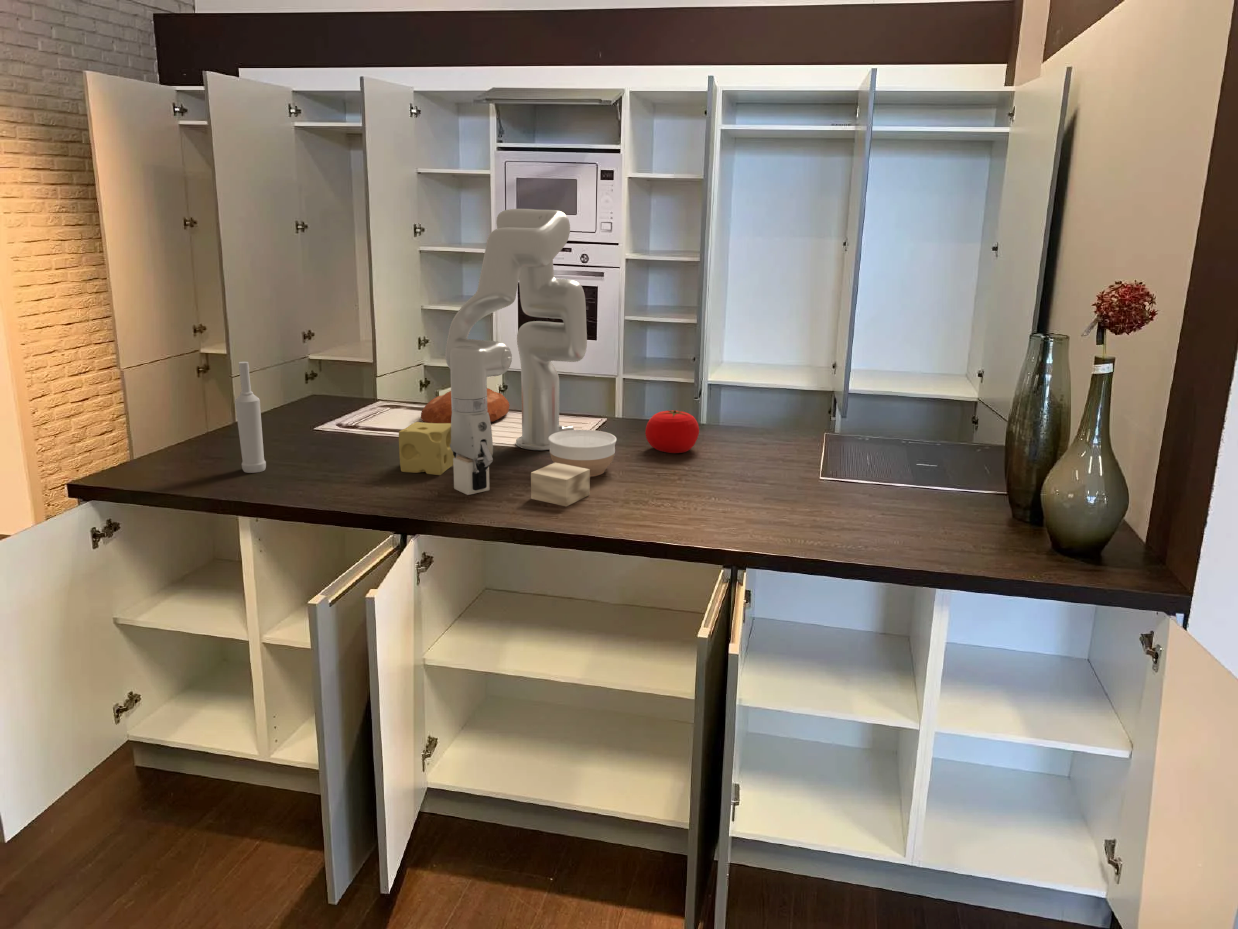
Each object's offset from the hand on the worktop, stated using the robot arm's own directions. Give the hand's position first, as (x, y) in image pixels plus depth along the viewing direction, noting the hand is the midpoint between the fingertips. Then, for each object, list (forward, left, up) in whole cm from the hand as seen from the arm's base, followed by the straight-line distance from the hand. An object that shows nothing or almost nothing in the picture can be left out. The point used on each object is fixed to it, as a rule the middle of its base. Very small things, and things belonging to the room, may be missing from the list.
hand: (471, 484), depth 197 cm
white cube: (0, 0, -1) cm, 1 cm away
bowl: (-28, +4, -1) cm, 28 cm away
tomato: (-57, +5, -1) cm, 57 cm away
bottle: (+31, -43, -1) cm, 53 cm away
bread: (-35, -56, -2) cm, 66 cm away
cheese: (-1, -20, -1) cm, 20 cm away
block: (-12, +16, -1) cm, 20 cm away
